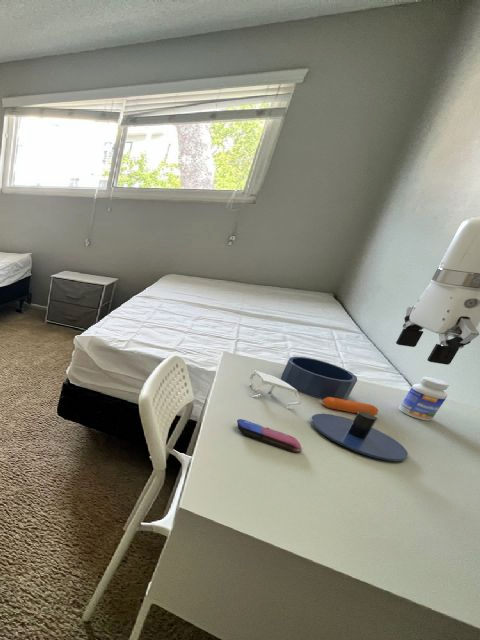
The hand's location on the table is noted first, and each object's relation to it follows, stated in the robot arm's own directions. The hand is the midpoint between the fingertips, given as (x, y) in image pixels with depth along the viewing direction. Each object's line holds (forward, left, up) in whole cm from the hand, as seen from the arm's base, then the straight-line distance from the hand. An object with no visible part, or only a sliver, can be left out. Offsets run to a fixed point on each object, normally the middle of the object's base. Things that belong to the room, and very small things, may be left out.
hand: (420, 353), depth 78 cm
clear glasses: (+23, +3, -18) cm, 30 cm away
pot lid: (+11, +14, -17) cm, 25 cm away
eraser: (+30, +24, -18) cm, 43 cm away
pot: (+9, -10, -18) cm, 23 cm away
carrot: (+2, 0, -16) cm, 16 cm away
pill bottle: (-9, -6, -18) cm, 21 cm away
